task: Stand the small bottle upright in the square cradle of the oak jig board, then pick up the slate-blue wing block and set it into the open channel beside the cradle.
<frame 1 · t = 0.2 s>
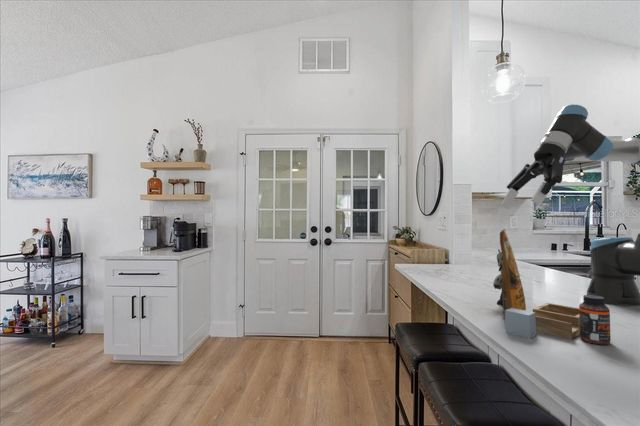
hand: (519, 205, 99), 35 cm above the countertop, tool tilted 35°, fingers open, 13 cm apart
supplement bottle: (595, 342, 81), on the countertop
wing block: (520, 333, 88), on the countertop
pancake mix bag: (512, 315, 104), on the countertop
robot: (505, 303, 117), on the countertop
jig: (557, 325, 92), on the countertop
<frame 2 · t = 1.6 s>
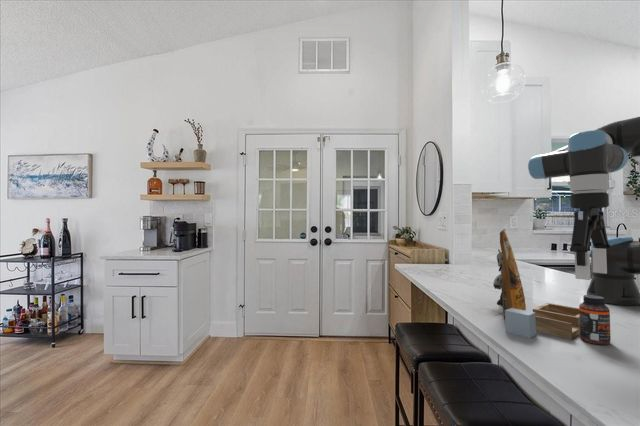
hand: (591, 276, 81), 16 cm above the countertop, tool pointing down, fingers open, 13 cm apart
nothing on the countertop moved.
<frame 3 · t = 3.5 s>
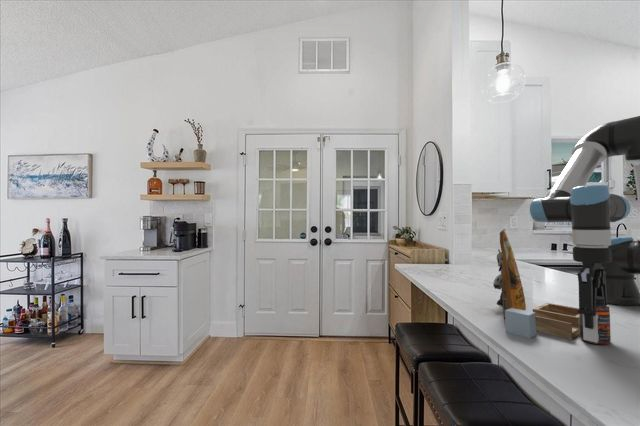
hand: (594, 337, 81), 1 cm above the countertop, tool pointing down, fingers closed on supplement bottle, 6 cm apart
supplement bottle: (595, 341, 81), on the countertop, touching gripper
everything else where it was.
when the fingers open (4 cm above the countertop, at t = 7.6 s): supplement bottle drops 2 cm, resting on jig.
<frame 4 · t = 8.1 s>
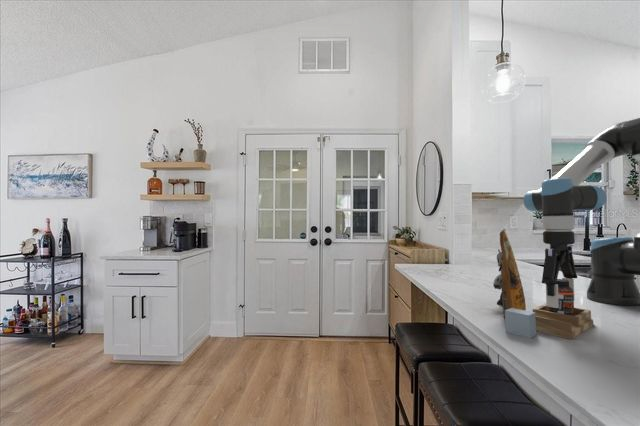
hand: (561, 303, 95), 6 cm above the countertop, tool pointing down, fingers open, 12 cm apart
supplement bottle: (561, 318, 95), point 1 cm above the countertop, touching jig
everything else where it was.
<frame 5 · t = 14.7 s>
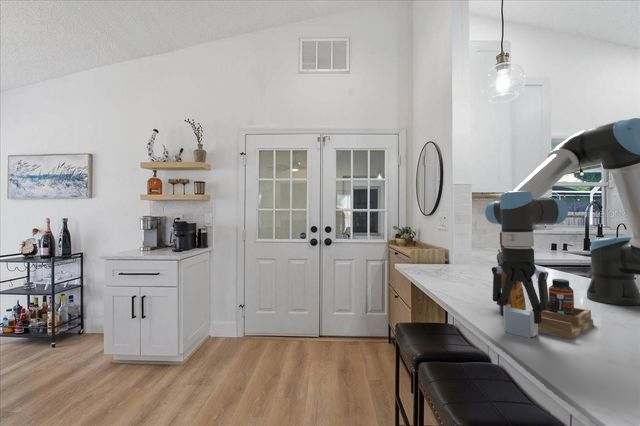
hand: (520, 331, 88), 0 cm above the countertop, tool pointing down, fingers closed on wing block, 6 cm apart
wing block: (520, 333, 88), on the countertop, touching gripper
everything else where it was.
when the fingers open (3 cm above the countertop, at t = 18.6 s): wing block stays where it is, resting on jig.
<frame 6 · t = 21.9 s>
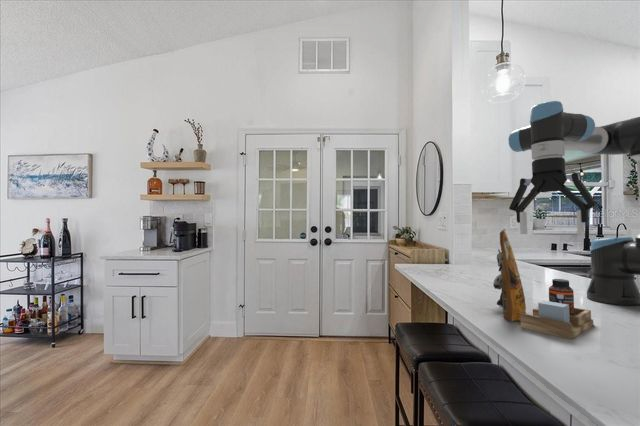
hand: (550, 234, 89), 27 cm above the countertop, tool pointing down, fingers open, 13 cm apart
wing block: (554, 325, 89), point 1 cm above the countertop, touching jig
everything else where it was.
at the end: supplement bottle 0.2 cm from the target spot on the jig, point 1.3 cm above the jig's base; supplement bottle tilted 0°; wing block inside the target area on the jig (0.5 cm from its centre), point 1.5 cm above the jig's base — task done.
